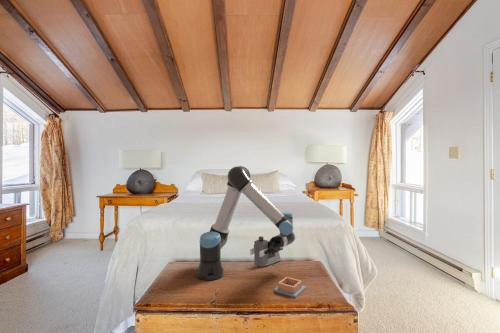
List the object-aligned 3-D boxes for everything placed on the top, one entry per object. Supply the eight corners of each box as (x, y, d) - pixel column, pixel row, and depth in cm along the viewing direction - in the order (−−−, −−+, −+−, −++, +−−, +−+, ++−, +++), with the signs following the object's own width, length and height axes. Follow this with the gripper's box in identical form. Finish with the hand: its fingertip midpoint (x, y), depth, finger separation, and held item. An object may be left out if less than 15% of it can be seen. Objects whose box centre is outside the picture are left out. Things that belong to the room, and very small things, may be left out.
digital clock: (263, 267, 168) (263, 250, 168) (255, 263, 176) (255, 246, 176) (284, 262, 177) (284, 246, 176) (275, 258, 184) (275, 242, 184)
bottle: (254, 264, 141) (254, 237, 141) (259, 261, 145) (259, 235, 145) (262, 266, 138) (262, 238, 138) (267, 263, 143) (267, 236, 142)
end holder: (273, 291, 137) (273, 283, 137) (285, 282, 146) (285, 275, 146) (295, 297, 130) (295, 289, 130) (306, 288, 140) (306, 280, 139)
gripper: (292, 251, 151) (270, 264, 132) (264, 246, 162) (240, 257, 143) (292, 238, 151) (270, 248, 132) (264, 233, 162) (240, 242, 143)
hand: (255, 253), depth 138 cm, fingers closed on bottle, 5 cm apart
